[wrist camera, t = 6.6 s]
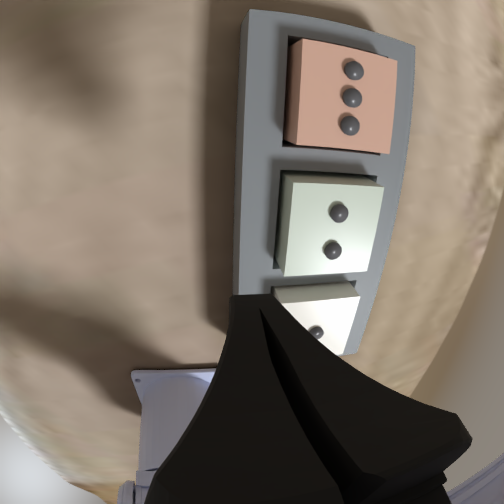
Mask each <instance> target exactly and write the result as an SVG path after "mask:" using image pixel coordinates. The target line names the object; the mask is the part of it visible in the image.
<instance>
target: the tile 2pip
mask: <svg viewBox="0 0 504 504" xmlns="http://www.w3.org/2000/svg"><path fill="white" fill-rule="evenodd" d="M383 192H384V187H383V186H381V185H379V184H377V183H376V182H374V181H372V180H370V179H368V178H366V177H365V176H363V175H361V174H353V173H339V172H322V171H302V170H280V181H279V195H278V208H277V221H276V233H275V245H274V256H275V258H276V260H277V262H278V265H279V267H280V269H281V271H282V273H283V275H284V277H285V276H302V275H319V274H334V273H349V272H363V271H367V268H368V264H369V260H370V256H371V252H372V247H373V243H374V238H375V234H376V229H377V224H378V219H379V214H380V209H381V203H382V198H383Z"/></svg>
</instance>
